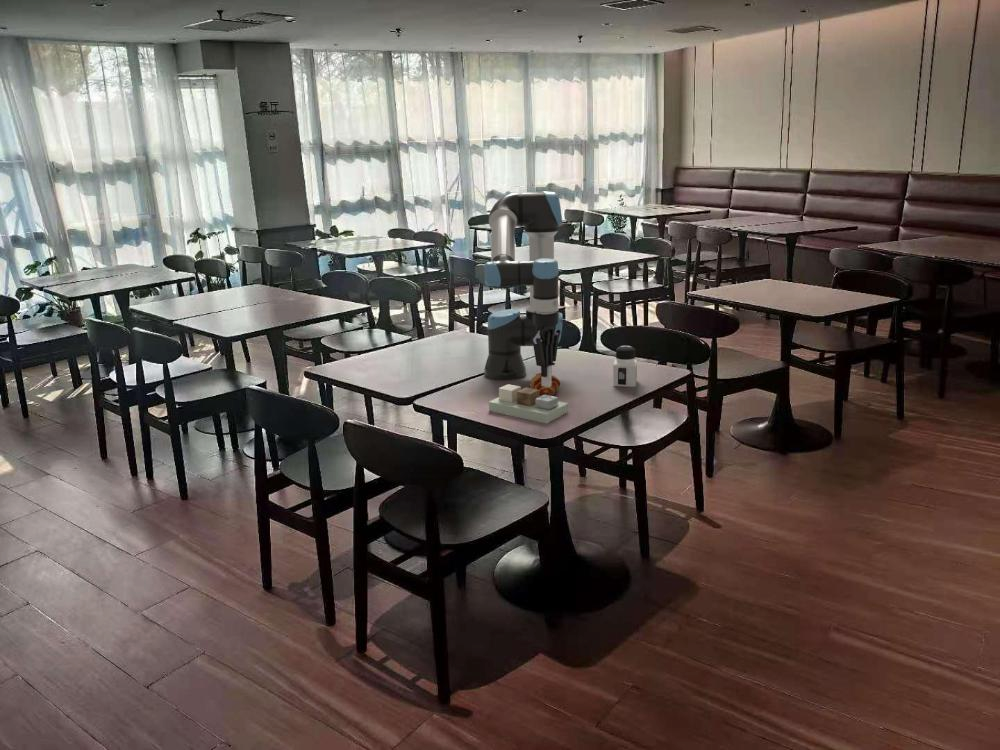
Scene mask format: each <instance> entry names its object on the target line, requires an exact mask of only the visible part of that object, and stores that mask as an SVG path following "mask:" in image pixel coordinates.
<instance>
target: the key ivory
mask: <svg viewBox="0 0 1000 750" xmlns="http://www.w3.org/2000/svg"><path fill="white" fill-rule="evenodd" d="M521 389H522V388H521V386H519V385H513V384H510V383H509V384H505V385H503V386H501V387H498V397H499V400H502V401H506V402H511V403H513V402H515V401H517V391H519V390H521Z"/></svg>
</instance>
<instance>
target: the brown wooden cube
mask: <svg viewBox="0 0 1000 750" xmlns="http://www.w3.org/2000/svg"><path fill="white" fill-rule="evenodd" d="M538 397H540V396H539V390H537V389H532V388H530V387H524V388H521V390H519V391H517V404H521V405H525V406H530V407H531V406H533V405H535V404H536V403H535V399H536V398H538Z"/></svg>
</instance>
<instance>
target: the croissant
mask: <svg viewBox="0 0 1000 750" xmlns="http://www.w3.org/2000/svg"><path fill="white" fill-rule="evenodd" d="M560 385H561V381H560V379H558V377H557V376H555V375H553V374H551V386H550V387H545V386H542V385H541V372H540V373H536V374H535V375H534V376H532V377H531V380H530V382H529V388H532V389H537V390H539V397H540V396H542V395H549V396H554V395H555V394H556V393H557V392H558V389H559V388H560Z"/></svg>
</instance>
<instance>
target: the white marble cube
mask: <svg viewBox="0 0 1000 750" xmlns="http://www.w3.org/2000/svg"><path fill="white" fill-rule="evenodd" d="M558 401H559V397H558V396H554V395H553V396H549V395H542V396H539V397H538V398H536V399H535V403H536V408H540V409H544V410H549V411H550V410H552V409H553V408H555V407H557V406H558Z"/></svg>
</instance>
